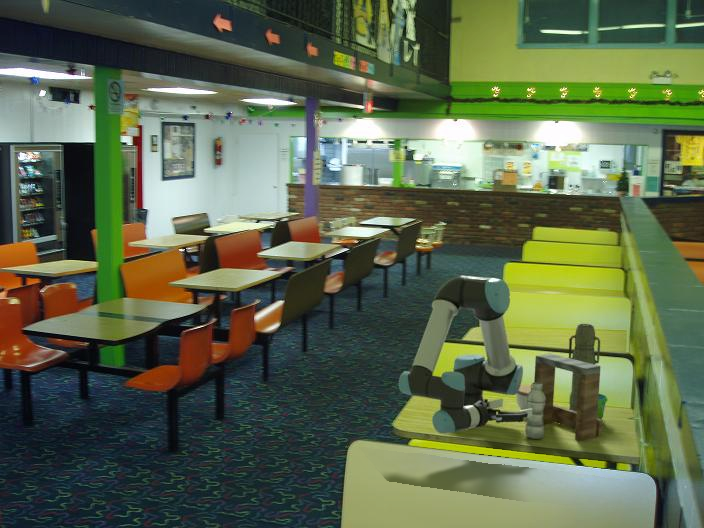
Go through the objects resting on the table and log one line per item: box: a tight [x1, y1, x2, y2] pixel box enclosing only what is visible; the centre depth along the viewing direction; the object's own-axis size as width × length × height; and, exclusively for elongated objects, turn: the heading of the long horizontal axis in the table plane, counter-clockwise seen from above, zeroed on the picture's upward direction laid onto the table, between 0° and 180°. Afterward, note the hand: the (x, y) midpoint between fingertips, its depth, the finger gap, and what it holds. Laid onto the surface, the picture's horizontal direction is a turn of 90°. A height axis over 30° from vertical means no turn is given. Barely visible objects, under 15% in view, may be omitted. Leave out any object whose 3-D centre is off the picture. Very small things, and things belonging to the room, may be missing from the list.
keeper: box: [534, 353, 604, 442], centre depth 297 cm, size 23×12×26 cm, turn 36°
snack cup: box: [597, 393, 608, 420], centre depth 310 cm, size 16×10×10 cm
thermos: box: [568, 323, 601, 412], centre depth 323 cm, size 9×12×35 cm
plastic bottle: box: [524, 382, 546, 440], centre depth 287 cm, size 6×7×20 cm
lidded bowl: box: [515, 384, 532, 410], centre depth 320 cm, size 13×13×11 cm
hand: (516, 407), depth 281 cm, fingers open, 13 cm apart
